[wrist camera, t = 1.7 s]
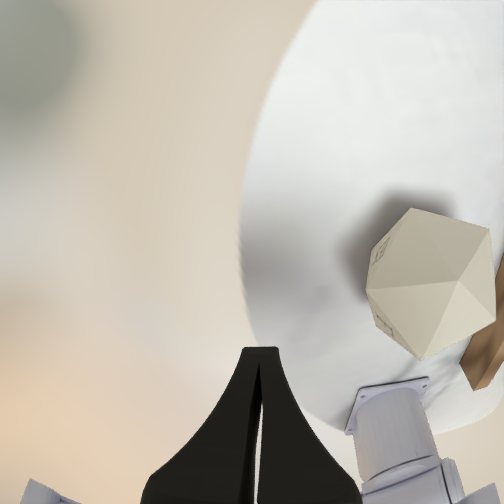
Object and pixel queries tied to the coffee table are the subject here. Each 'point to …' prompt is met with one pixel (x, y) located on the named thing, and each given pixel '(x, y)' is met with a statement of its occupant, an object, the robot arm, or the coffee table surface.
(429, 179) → the coffee table surface
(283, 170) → the coffee table surface
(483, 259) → the die
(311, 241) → the coffee table surface
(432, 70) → the coffee table surface
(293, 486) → the robot arm
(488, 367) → the walnut board
